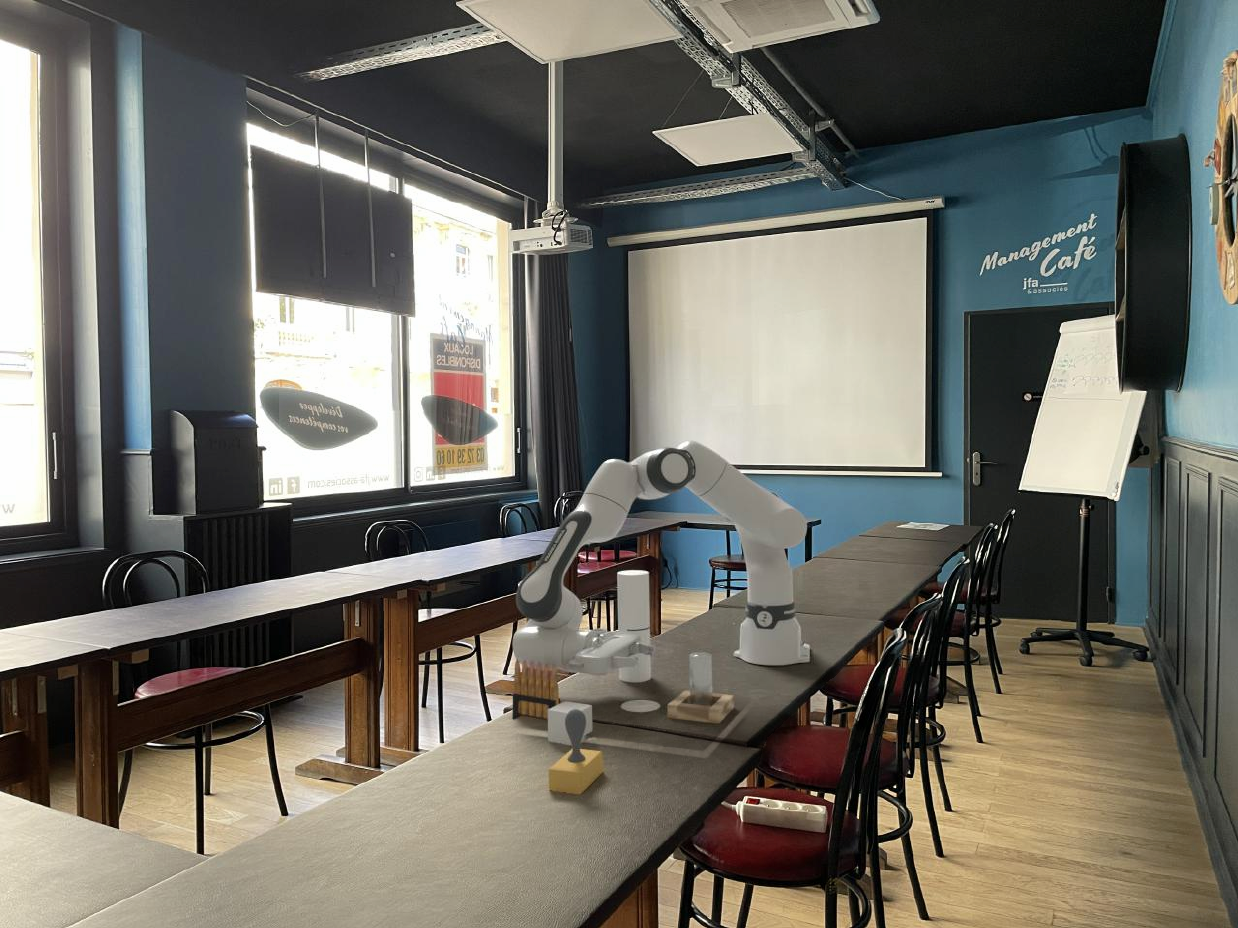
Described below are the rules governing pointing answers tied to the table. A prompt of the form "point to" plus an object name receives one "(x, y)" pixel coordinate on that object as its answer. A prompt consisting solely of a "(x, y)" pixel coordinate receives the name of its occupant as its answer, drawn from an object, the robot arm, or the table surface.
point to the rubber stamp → (575, 760)
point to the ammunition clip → (534, 691)
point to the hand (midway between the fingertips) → (645, 655)
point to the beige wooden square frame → (701, 708)
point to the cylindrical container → (634, 619)
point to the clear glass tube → (700, 678)
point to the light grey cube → (558, 721)
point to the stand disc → (640, 706)
